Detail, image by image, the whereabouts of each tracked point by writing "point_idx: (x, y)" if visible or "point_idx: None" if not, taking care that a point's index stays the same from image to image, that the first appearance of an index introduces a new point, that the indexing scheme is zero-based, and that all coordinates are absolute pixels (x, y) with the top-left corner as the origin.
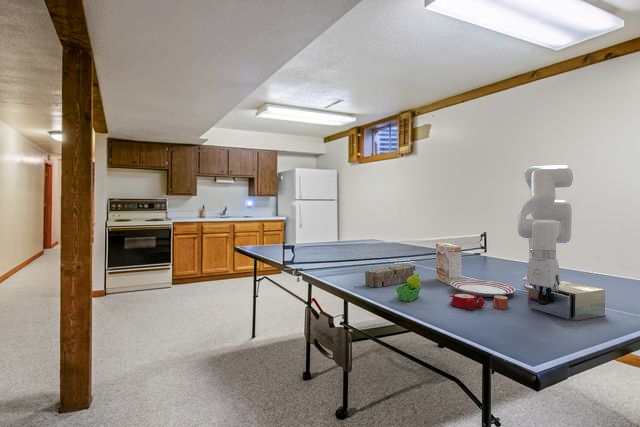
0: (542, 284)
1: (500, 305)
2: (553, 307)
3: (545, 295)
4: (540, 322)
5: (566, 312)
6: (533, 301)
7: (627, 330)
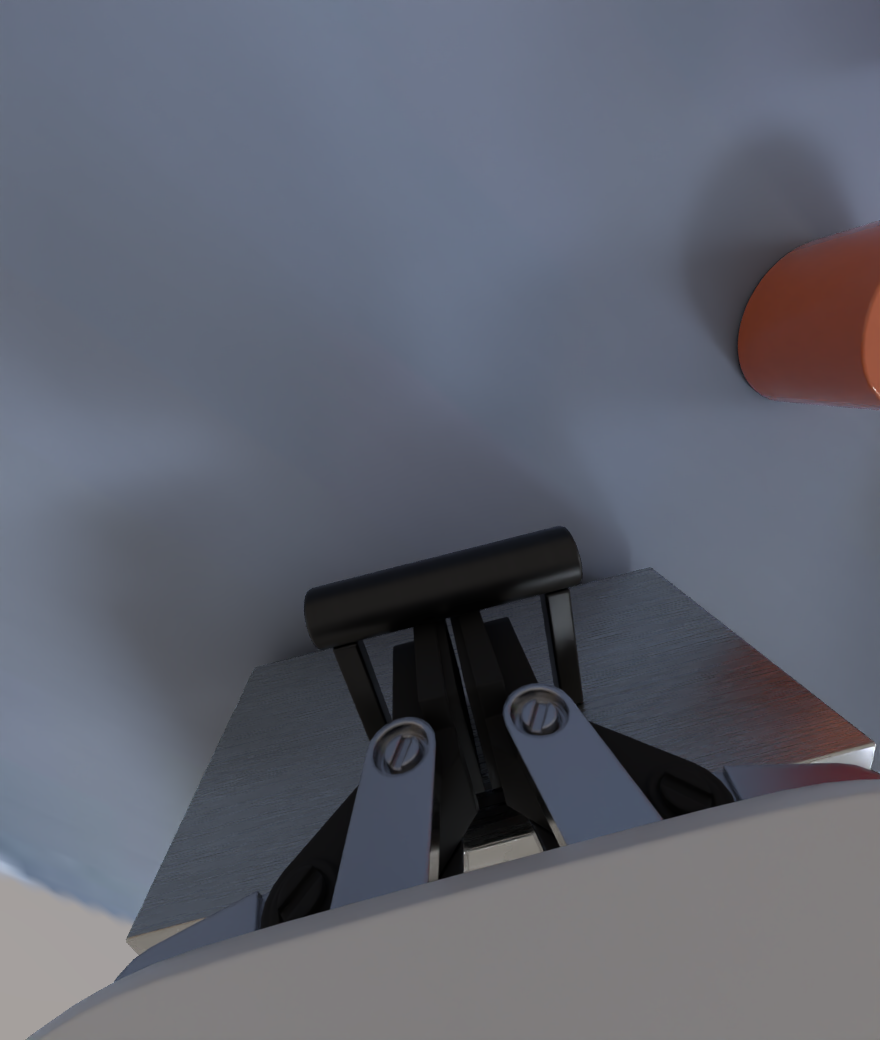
0: (289, 1017)
1: (803, 262)
2: (386, 683)
3: (396, 729)
4: (238, 393)
5: (242, 709)
6: (633, 623)
7: (64, 871)
